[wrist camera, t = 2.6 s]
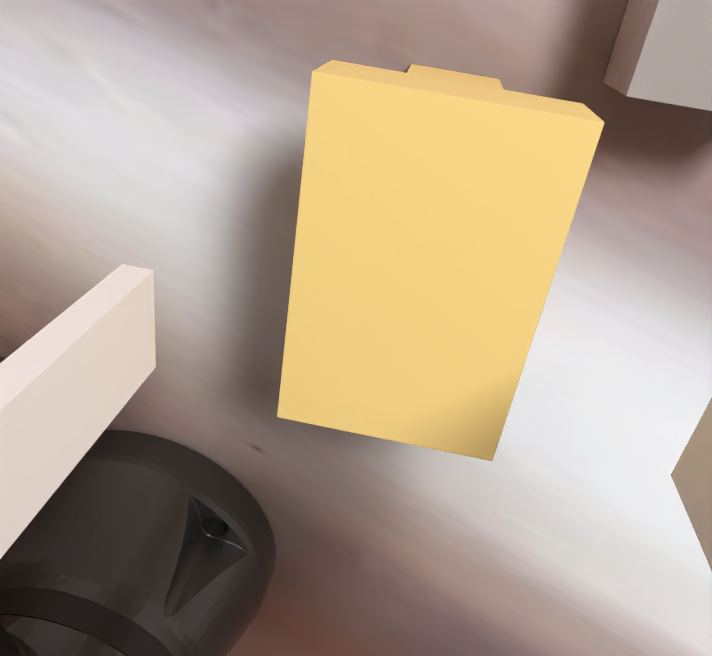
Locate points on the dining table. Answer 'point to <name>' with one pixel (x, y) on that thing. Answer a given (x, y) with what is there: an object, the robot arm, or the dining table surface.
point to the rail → (664, 53)
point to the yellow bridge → (425, 250)
